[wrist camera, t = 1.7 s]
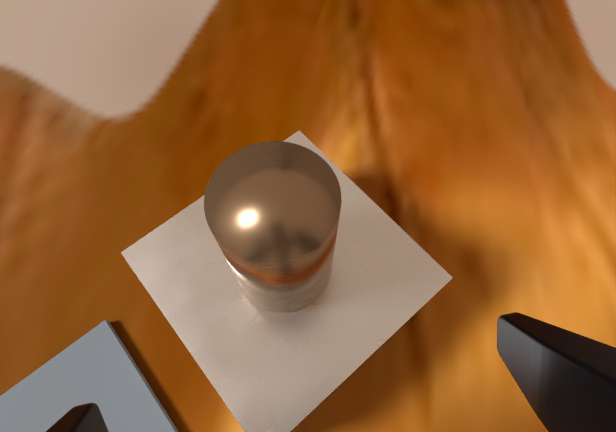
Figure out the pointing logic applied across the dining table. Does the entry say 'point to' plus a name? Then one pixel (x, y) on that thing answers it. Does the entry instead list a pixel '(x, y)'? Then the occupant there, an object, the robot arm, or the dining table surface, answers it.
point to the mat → (86, 389)
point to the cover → (283, 280)
